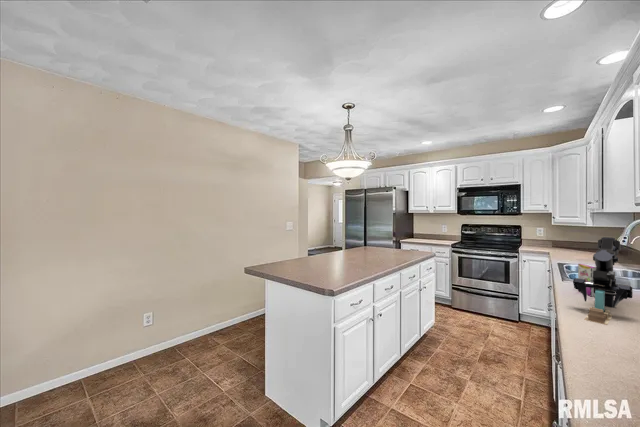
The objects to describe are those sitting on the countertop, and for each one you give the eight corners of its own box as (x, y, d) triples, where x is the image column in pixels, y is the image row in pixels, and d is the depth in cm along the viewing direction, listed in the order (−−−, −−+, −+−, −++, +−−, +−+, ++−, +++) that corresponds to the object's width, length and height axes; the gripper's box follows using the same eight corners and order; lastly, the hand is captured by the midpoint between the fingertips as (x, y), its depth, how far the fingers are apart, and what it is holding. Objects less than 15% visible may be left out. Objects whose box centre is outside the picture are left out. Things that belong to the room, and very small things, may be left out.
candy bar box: (577, 291, 168) (577, 263, 168) (587, 291, 167) (587, 263, 167) (590, 296, 157) (591, 267, 157) (601, 297, 156) (601, 267, 156)
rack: (591, 312, 133) (591, 305, 133) (612, 317, 127) (612, 309, 127) (583, 322, 121) (584, 313, 121) (607, 327, 116) (607, 318, 116)
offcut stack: (589, 316, 125) (589, 306, 125) (605, 320, 121) (605, 310, 121) (587, 319, 122) (587, 309, 121) (603, 323, 118) (604, 312, 118)
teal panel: (596, 313, 128) (596, 289, 128) (604, 315, 126) (604, 290, 126) (594, 316, 125) (595, 291, 125) (602, 318, 123) (603, 292, 123)
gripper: (574, 260, 135) (568, 288, 128) (632, 267, 121) (629, 298, 114) (577, 275, 140) (572, 302, 133) (633, 282, 126) (631, 313, 119)
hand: (599, 303), depth 125 cm, fingers open, 9 cm apart
